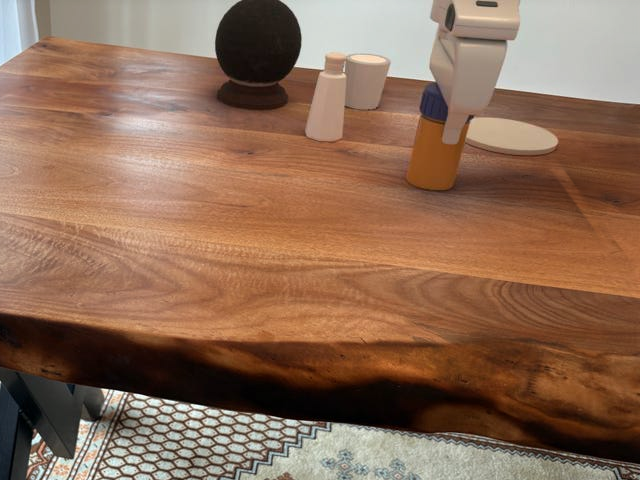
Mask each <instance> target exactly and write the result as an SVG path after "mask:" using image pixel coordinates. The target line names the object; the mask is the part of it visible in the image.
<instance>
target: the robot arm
mask: <svg viewBox="0 0 640 480" xmlns="http://www.w3.org/2000/svg"><path fill="white" fill-rule="evenodd" d="M520 3H521V0H432V5H431V9H430V13H429V18H430V20H431V21H432V22H435V23H437V24H438V25H437V29H436V33H435V37H434V42H433V45H432V48H431V53H430V56H429V65H428V66H429V68H428V69H429V70H430V73H431V75H432V77H433V79H434V81H435V83H437V85H438V87H439V89H440V91H441V93H442V96H443V98H444V100H445V102H446V104H447V106H448V116H447V119H446V123H445V124H444V125H443V129H442V133H441V139H442V141H443V143H445V144H456V143H458V141H459V137H460V133H461V130H462V128H463V126H464V125H465V123H466V121H467V119H468V117H469V115H475V116H481V115H483V114H484V112H485V111H486V110H487V108H488V106H489V104H490V102H491V100H492V98H493V95H494V91H495V89H496V87H497V83H498V80H499V77H500V74H501V71H502V68H503V66H504V62H505V59H506V55H507V51H508V41H515V40H516V38H517V36H518V34H519V29H520V25H521V15H520V9H519V8H520Z"/></svg>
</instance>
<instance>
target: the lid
mask: <svg viewBox="0 0 640 480" xmlns="http://www.w3.org/2000/svg"><path fill="white" fill-rule="evenodd" d="M418 110H419V112H420V114H421V113H422V114H423V115H425V116H427V117H429V118H432V119H436V120H440V121H446V119H447V116H448V106H447V104H446V102H445V100H444V98H443V96H442V93H441V91H440V89H439V87H438V85H437V83H436V82H433V83H428V84H426V85H425V87H424V90H423V92H422V95H421V101H420V105H419V108H418ZM475 116H476V115H469V117H468V119H467V121H470V120H472V119H473V118H475Z"/></svg>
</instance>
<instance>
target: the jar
mask: <svg viewBox="0 0 640 480" xmlns="http://www.w3.org/2000/svg"><path fill="white" fill-rule="evenodd" d="M445 123H446V121H440V120H436V119H432V118H429V117H427V116H425V115H423V114H422V113H421V112H420V115H419V119H418V123H417V127H416V132H415V135H414V136H415V137H414V140H413V144H412V149H411V154H410V158H409V162H408V166H407V171H406V176H405V180H406V181H407V183H408V184H410V185H411V186H413V187H417V188H420V189H423V190H427V189H428V191H448V190H450V189H452V188H453V187H454V185H455V181H456V178H457V175H458V170H459V167H460V163H461V159H462V155H463V152H464V148H465V144H466V142H465V141H466V137H467V134H468V130H469V126H470V123H471V121H466V123H465V125H464V126H463V128H462V130H461V133H460V137H459V141H458V143H456V144H445V143H443V141H442V139H441V133H442V129H443V125H444V124H445Z"/></svg>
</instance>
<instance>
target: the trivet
mask: <svg viewBox="0 0 640 480" xmlns="http://www.w3.org/2000/svg"><path fill="white" fill-rule="evenodd" d="M470 121H471V123H470V126H469V130H468V134H467V137H466V141H465V144H468V145H470V146H473V147H475V148H478V149H481V150H485V151H489V152H494V153H498V154H504V155H512V156H540V155H541V156H542V155H546V154H550V153H552V152H554V151H555V150H556V149H557V147H558V144H559V139H558V137H557V136H556V135H555V134H554V133H553V132H551V131H548V130H547V129H545V128H542V127H540V126H538V125H534V124H531V123H528V122H523V121H519V120H514V119H508V118H501V117H474V118H473V119H472V120H470Z"/></svg>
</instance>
